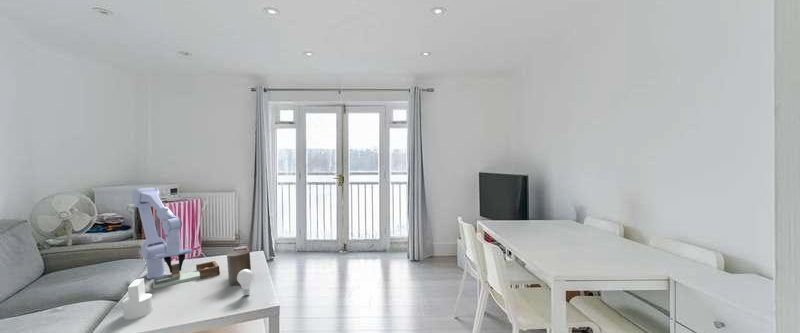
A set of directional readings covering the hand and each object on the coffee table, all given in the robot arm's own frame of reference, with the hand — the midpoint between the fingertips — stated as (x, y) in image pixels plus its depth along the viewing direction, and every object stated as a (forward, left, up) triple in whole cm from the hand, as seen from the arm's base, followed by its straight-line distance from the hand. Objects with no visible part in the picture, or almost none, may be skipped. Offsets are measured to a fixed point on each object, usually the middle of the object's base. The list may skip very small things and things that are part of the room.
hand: (175, 271), depth 168 cm
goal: (0, +14, -4) cm, 15 cm away
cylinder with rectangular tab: (+32, -15, -5) cm, 36 cm away
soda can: (+12, +27, -5) cm, 30 cm away
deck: (0, 0, -4) cm, 4 cm away
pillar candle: (+24, +23, -5) cm, 34 cm away
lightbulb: (+43, +21, -5) cm, 48 cm away
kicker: (0, 0, -3) cm, 3 cm away
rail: (0, -4, -3) cm, 5 cm away
